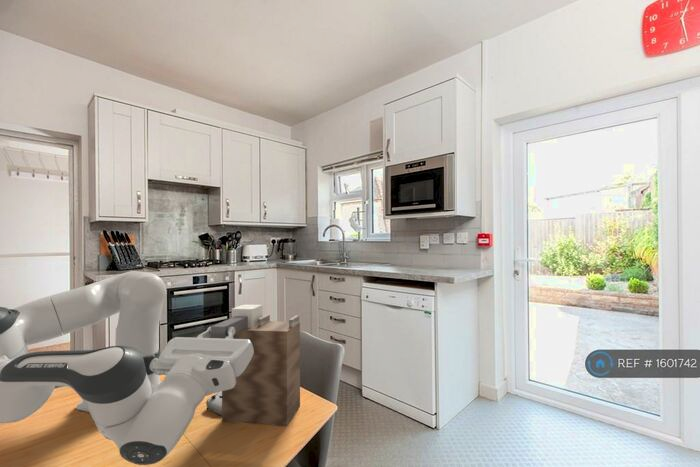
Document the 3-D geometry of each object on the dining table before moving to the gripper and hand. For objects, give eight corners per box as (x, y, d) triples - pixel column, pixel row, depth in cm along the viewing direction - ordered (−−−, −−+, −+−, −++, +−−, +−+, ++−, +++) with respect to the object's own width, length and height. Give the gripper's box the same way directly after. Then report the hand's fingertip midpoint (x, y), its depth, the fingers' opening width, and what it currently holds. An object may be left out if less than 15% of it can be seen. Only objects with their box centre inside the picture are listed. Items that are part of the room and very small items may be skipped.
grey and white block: (206, 338, 79) (206, 317, 79) (243, 321, 98) (243, 304, 98) (229, 339, 78) (229, 318, 78) (262, 321, 97) (262, 304, 97)
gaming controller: (227, 413, 90) (211, 393, 91) (212, 428, 90) (196, 408, 92) (248, 395, 101) (233, 377, 102) (235, 408, 101) (220, 391, 103)
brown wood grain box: (221, 421, 87) (222, 322, 88) (241, 402, 98) (242, 313, 99) (287, 426, 84) (286, 323, 86) (300, 405, 95) (299, 315, 96)
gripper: (152, 383, 72) (188, 337, 84) (240, 388, 69) (264, 339, 81) (142, 363, 69) (180, 318, 81) (233, 367, 66) (258, 319, 78)
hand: (222, 328), depth 81 cm, fingers closed on grey and white block, 3 cm apart
